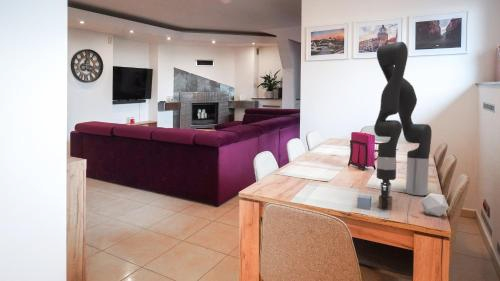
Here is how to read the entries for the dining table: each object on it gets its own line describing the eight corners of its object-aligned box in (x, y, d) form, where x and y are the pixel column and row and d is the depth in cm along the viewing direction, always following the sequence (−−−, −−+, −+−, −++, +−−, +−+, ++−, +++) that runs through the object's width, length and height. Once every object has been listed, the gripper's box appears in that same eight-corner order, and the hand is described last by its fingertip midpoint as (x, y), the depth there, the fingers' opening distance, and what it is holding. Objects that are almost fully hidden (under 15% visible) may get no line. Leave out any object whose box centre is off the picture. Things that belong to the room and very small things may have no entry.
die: (418, 214, 126) (447, 222, 121) (422, 192, 125) (452, 199, 120) (418, 208, 133) (446, 216, 129) (423, 188, 132) (451, 194, 128)
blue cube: (358, 206, 139) (359, 194, 139) (371, 207, 137) (371, 196, 136) (357, 208, 134) (357, 197, 134) (369, 210, 132) (370, 198, 132)
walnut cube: (379, 206, 139) (379, 194, 139) (391, 207, 137) (392, 196, 136) (378, 209, 134) (378, 197, 134) (391, 210, 132) (391, 198, 132)
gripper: (378, 165, 143) (377, 202, 144) (375, 168, 130) (373, 210, 131) (396, 166, 139) (395, 204, 140) (395, 170, 127) (393, 212, 127)
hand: (385, 207), depth 136 cm, fingers closed on walnut cube, 5 cm apart
